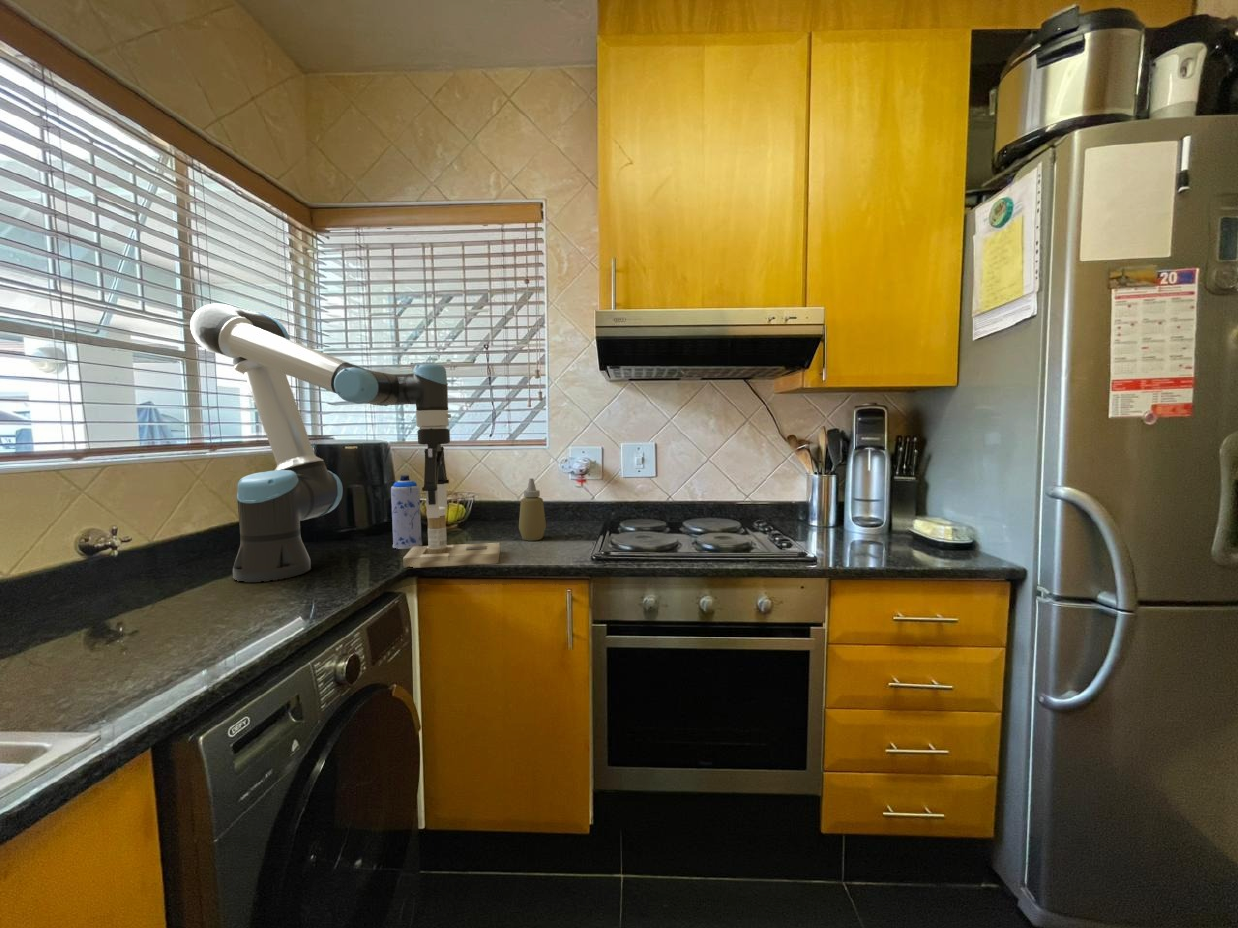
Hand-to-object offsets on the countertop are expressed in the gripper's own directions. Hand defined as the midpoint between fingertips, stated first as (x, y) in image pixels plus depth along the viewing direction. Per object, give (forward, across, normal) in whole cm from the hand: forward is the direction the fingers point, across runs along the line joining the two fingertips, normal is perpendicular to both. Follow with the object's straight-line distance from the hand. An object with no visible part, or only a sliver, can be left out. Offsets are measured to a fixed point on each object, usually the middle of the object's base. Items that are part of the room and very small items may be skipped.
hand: (437, 513), depth 133 cm
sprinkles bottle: (+12, 0, +1) cm, 12 cm away
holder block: (+12, 0, -3) cm, 12 cm away
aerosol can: (+12, +19, +12) cm, 25 cm away
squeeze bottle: (+12, +20, -23) cm, 33 cm away
